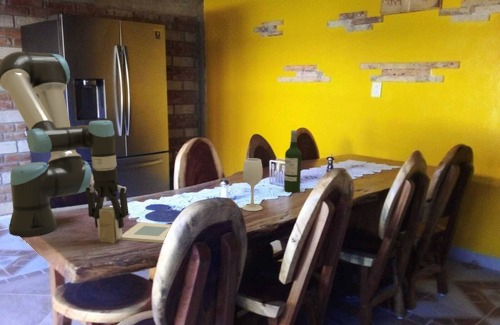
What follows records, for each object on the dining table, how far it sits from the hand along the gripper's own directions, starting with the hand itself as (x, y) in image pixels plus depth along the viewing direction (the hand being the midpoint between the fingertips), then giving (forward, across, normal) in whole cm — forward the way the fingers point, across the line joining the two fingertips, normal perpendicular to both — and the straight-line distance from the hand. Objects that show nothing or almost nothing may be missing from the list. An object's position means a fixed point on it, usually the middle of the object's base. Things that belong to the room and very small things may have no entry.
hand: (110, 237), depth 145 cm
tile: (+2, +10, +9) cm, 14 cm away
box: (+1, 0, 0) cm, 1 cm away
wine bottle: (+3, +54, +83) cm, 99 cm away
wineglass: (+3, +40, +48) cm, 62 cm away
